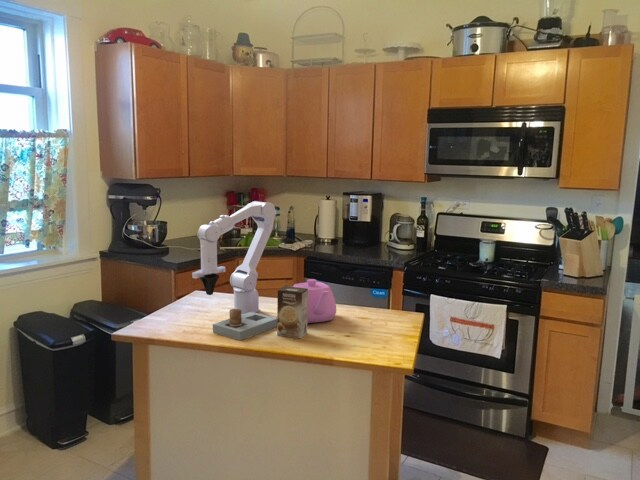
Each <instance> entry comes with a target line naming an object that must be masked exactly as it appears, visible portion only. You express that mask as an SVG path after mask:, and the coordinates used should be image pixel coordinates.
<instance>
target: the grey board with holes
mask: <svg viewBox="0 0 640 480" xmlns="http://www.w3.org/2000/svg"><path fill="white" fill-rule="evenodd" d="M241 318H242V325H241V327H238V328H233V327H230V318H226V319H224V320H221V321H218V322H214V323H212V333H214V334H216V335H219V336H224V337H226V338H231V339H234V340H237V341H242V340H245V339H248V338H251V337H254V336H255V335H258V334H261V333H264V332H267V331H269V330H272V329H274V328H277V317H274V316H271V315H267V314H263V313H258V312H249V313H246V314H242V315H241Z"/></svg>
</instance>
